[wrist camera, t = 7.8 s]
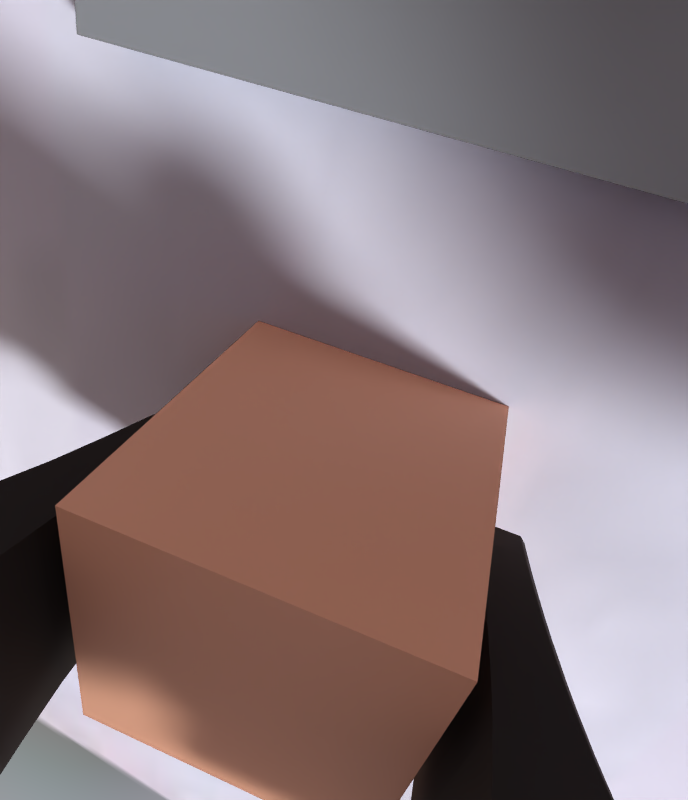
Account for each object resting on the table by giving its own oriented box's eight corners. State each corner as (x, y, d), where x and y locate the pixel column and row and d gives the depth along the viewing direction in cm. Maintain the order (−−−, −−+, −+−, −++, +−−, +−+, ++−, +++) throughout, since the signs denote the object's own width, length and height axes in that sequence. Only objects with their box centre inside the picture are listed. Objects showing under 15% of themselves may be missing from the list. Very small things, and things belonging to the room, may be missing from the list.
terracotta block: (508, 404, 9) (477, 681, 5) (429, 574, 12) (367, 849, 8) (259, 319, 10) (55, 505, 6) (236, 497, 12) (83, 714, 8)
